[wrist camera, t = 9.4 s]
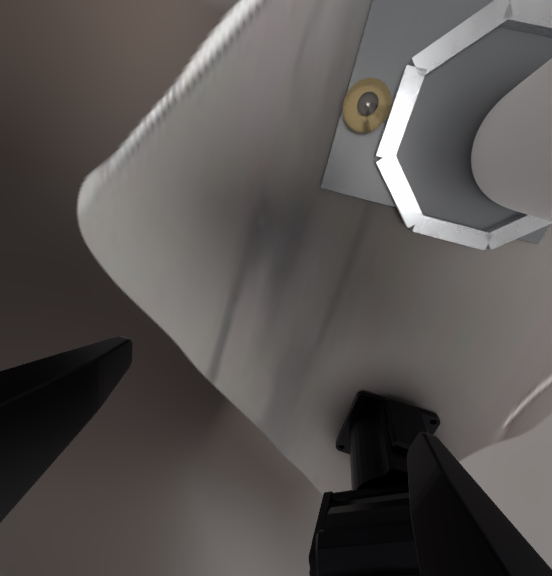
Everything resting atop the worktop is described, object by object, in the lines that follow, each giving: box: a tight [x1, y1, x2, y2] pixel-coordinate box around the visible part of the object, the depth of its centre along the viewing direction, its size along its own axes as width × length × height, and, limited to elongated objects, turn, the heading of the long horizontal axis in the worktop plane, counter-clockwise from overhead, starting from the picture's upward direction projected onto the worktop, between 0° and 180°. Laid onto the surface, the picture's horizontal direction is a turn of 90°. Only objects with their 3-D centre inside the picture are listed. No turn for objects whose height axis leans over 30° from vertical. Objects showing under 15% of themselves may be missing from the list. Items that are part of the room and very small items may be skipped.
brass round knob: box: [343, 78, 392, 134], centre depth 16 cm, size 2×2×2 cm
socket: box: [375, 0, 552, 251], centre depth 15 cm, size 11×11×1 cm
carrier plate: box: [321, 0, 552, 244], centre depth 16 cm, size 10×13×1 cm
